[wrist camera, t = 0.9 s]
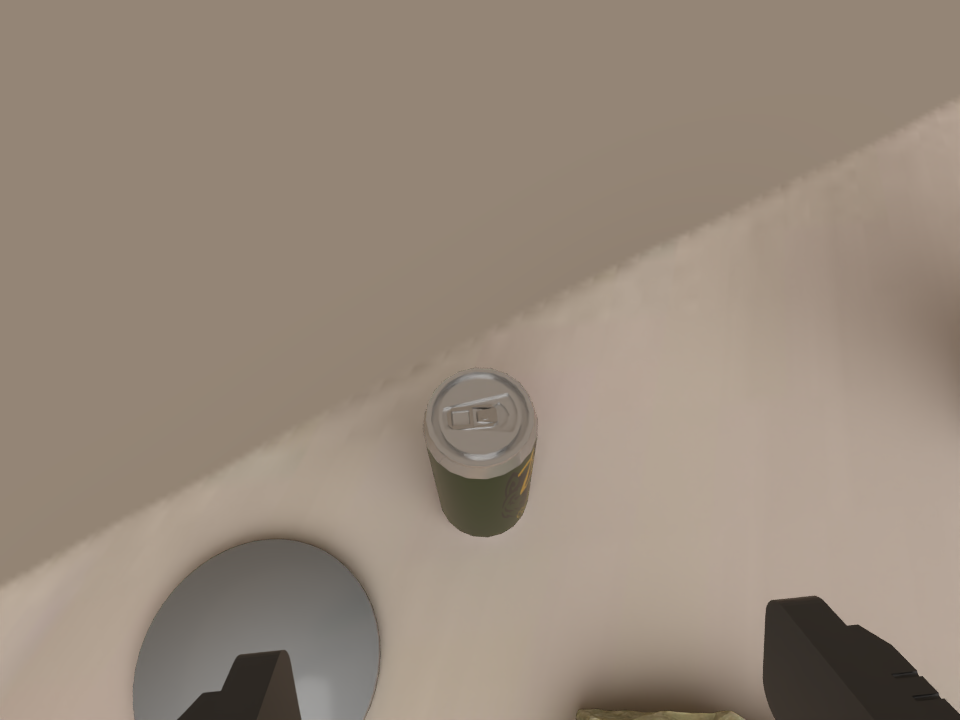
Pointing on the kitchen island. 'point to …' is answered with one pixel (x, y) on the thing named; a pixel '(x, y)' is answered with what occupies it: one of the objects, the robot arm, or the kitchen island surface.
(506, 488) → the beer can
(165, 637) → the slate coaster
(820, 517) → the kitchen island surface
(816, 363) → the kitchen island surface
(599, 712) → the decorative tile
